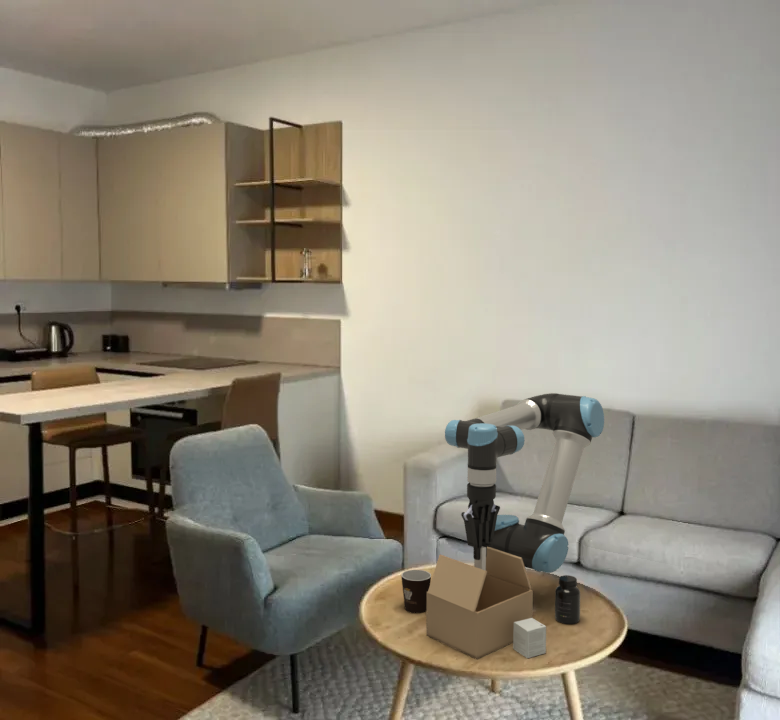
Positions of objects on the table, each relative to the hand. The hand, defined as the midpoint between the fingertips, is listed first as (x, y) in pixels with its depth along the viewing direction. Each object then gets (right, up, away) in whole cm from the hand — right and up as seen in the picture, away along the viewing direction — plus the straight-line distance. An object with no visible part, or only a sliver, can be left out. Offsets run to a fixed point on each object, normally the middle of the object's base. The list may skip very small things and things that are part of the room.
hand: (479, 570), depth 212 cm
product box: (+12, -19, -7) cm, 24 cm away
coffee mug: (-16, -16, +17) cm, 28 cm away
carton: (0, -18, +2) cm, 18 cm away
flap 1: (-6, -2, -6) cm, 9 cm away
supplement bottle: (+26, -17, +12) cm, 33 cm away
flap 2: (+7, 0, +6) cm, 9 cm away
